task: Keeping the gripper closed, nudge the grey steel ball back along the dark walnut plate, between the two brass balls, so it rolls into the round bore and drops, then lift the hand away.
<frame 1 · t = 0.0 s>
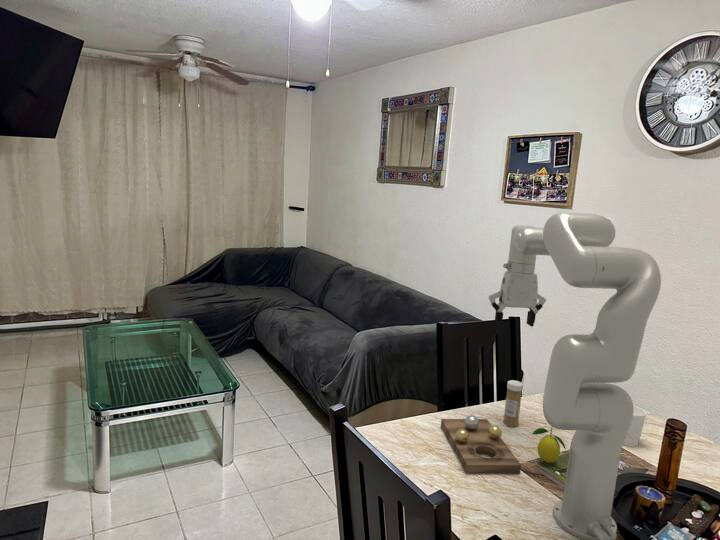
hand: (514, 324, 144), 31 cm above the table, tool pointing down, fingers open, 9 cm apart
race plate: (477, 448, 133), on the table
brass ball 1: (494, 432, 134), point 4 cm above the table, touching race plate
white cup: (625, 441, 142), on the table
lemon: (546, 463, 128), on the table
steel ball: (471, 422, 138), point 4 cm above the table, touching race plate
brass ball 2: (462, 435, 131), point 4 cm above the table, touching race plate
sprinkles bottle: (510, 424, 149), on the table
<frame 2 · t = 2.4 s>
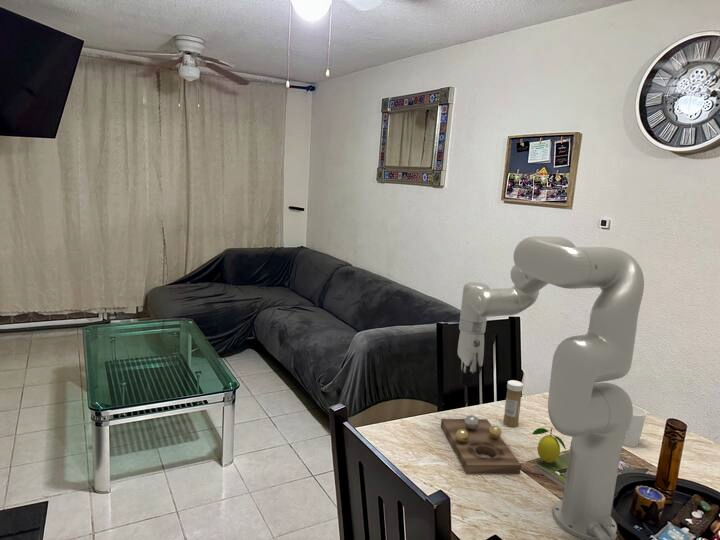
hand: (465, 383, 144), 13 cm above the table, tool pointing down, fingers closed
nothing on the table moved.
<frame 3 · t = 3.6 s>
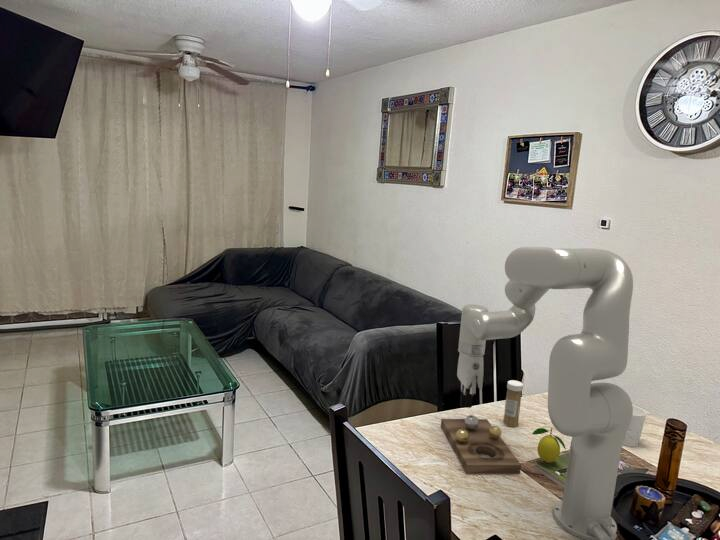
hand: (465, 406, 144), 7 cm above the table, tool pointing down, fingers closed
nothing on the table moved.
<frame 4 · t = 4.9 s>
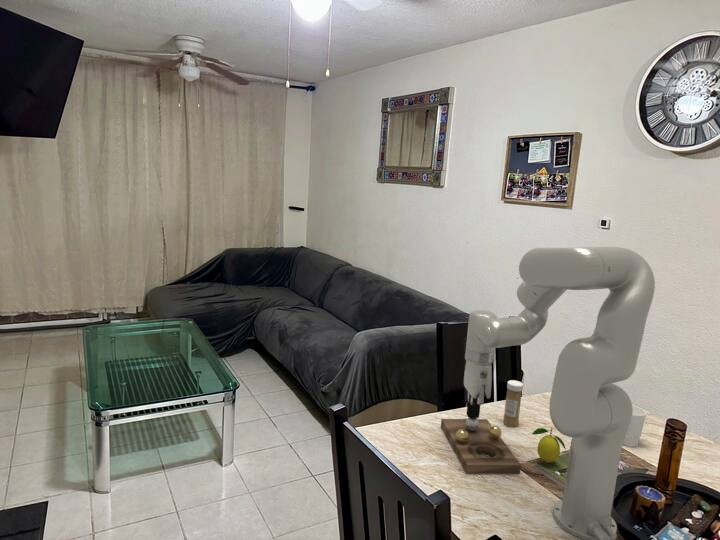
hand: (472, 416, 138), 7 cm above the table, tool pointing down, fingers closed
steel ball: (472, 423, 138), point 4 cm above the table, tilted 24°, touching gripper, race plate
everything else where it was.
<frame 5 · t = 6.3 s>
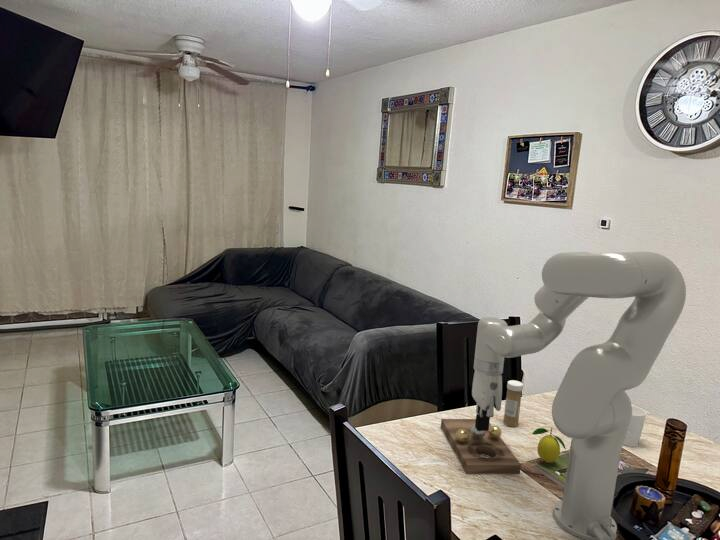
hand: (481, 429, 131), 6 cm above the table, tool pointing down, fingers closed
steel ball: (477, 431, 134), point 4 cm above the table, tilted 144°, touching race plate
everything else where it was.
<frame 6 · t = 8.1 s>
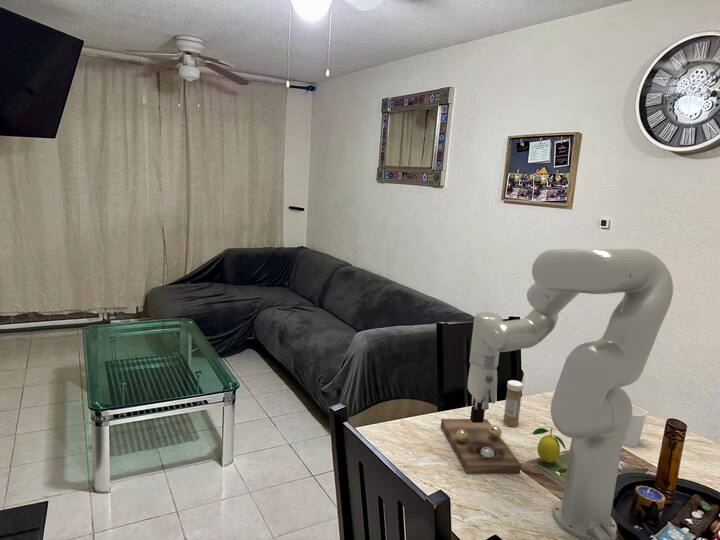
hand: (476, 421, 134), 7 cm above the table, tool pointing down, fingers closed
steel ball: (487, 455, 126), point 2 cm above the table, tilted 38°
everything else where it was.
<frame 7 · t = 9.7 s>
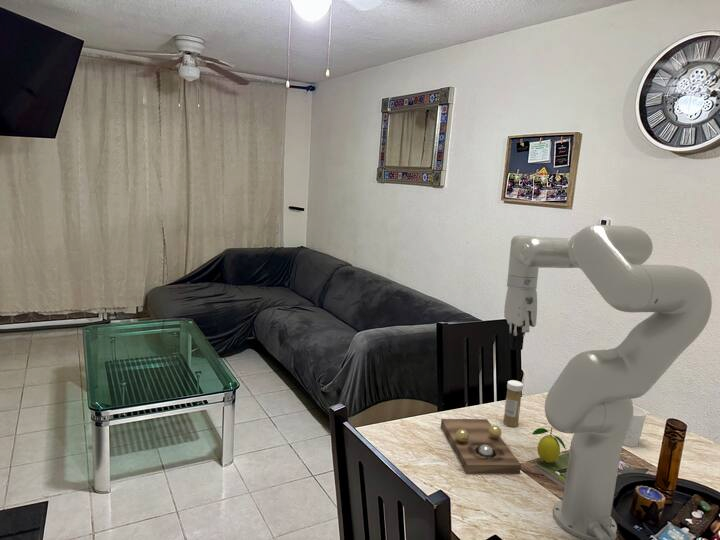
hand: (515, 348, 131), 28 cm above the table, tool pointing down, fingers closed
steel ball: (485, 452, 128), point 2 cm above the table, tilted 17°
everything else where it was.
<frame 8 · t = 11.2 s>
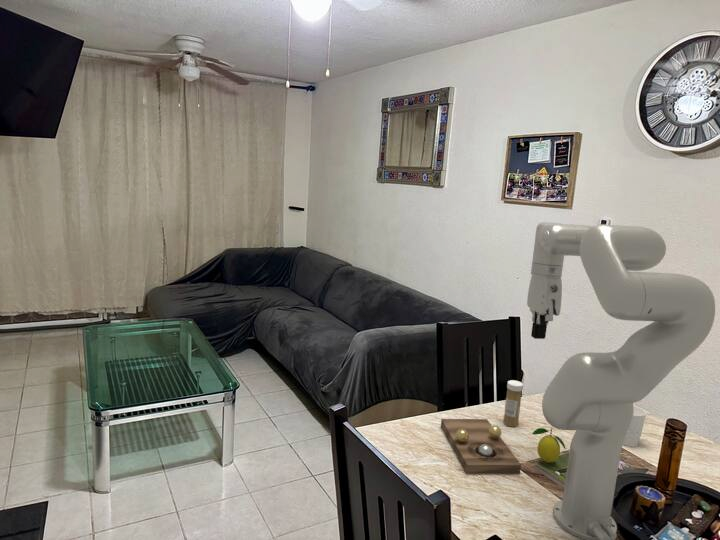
hand: (538, 337, 129), 32 cm above the table, tool pointing down, fingers closed
nothing on the table moved.
at the end: steel ball 0.6 cm from the target spot in the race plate, point 2.0 cm above the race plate's base; brass ball 1 moved 0.0 cm from its start; brass ball 2 moved 0.0 cm from its start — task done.
